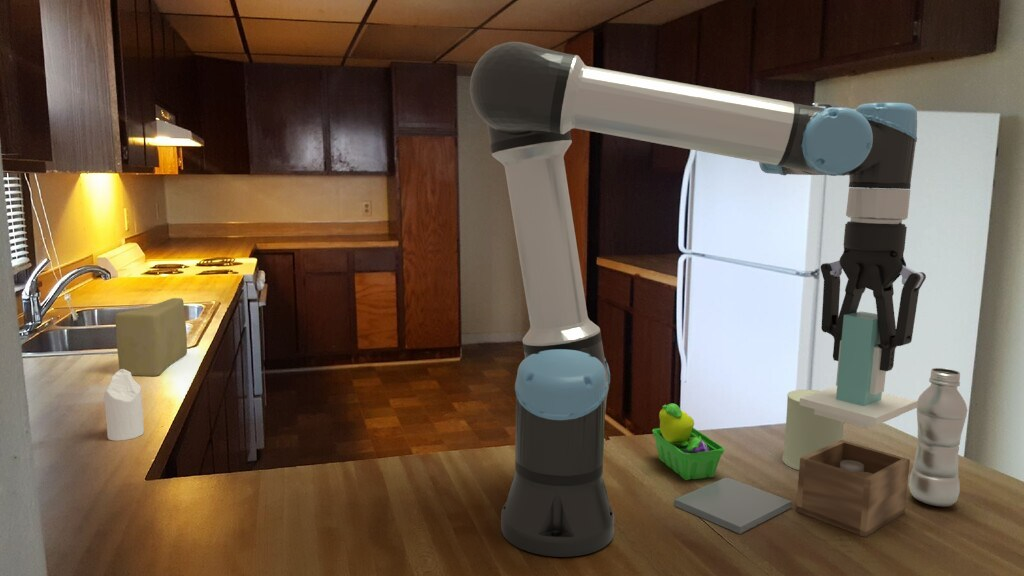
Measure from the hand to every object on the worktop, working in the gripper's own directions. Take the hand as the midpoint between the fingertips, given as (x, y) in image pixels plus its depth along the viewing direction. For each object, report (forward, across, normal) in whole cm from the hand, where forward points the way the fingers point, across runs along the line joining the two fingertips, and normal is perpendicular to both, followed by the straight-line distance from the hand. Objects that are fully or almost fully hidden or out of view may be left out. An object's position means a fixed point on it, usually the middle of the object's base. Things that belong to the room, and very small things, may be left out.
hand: (859, 388), depth 105 cm
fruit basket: (+19, +25, +6) cm, 32 cm away
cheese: (+20, +144, +54) cm, 155 cm away
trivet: (+18, +11, +12) cm, 25 cm away
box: (+18, 0, 0) cm, 18 cm away
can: (+19, +13, -13) cm, 26 cm away
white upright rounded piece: (+20, +96, +73) cm, 122 cm away
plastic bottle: (+18, -6, -13) cm, 24 cm away
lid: (+4, 0, 0) cm, 4 cm away
